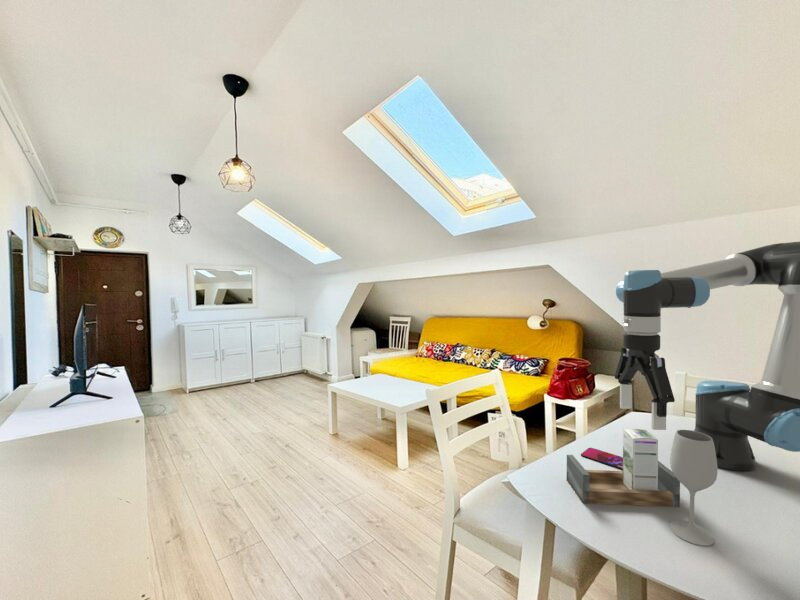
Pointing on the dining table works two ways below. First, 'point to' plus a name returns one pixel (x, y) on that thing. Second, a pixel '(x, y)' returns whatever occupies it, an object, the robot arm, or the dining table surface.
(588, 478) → the track
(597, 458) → the smartphone
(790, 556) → the dining table surface
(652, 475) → the syrup box
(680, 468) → the wineglass
